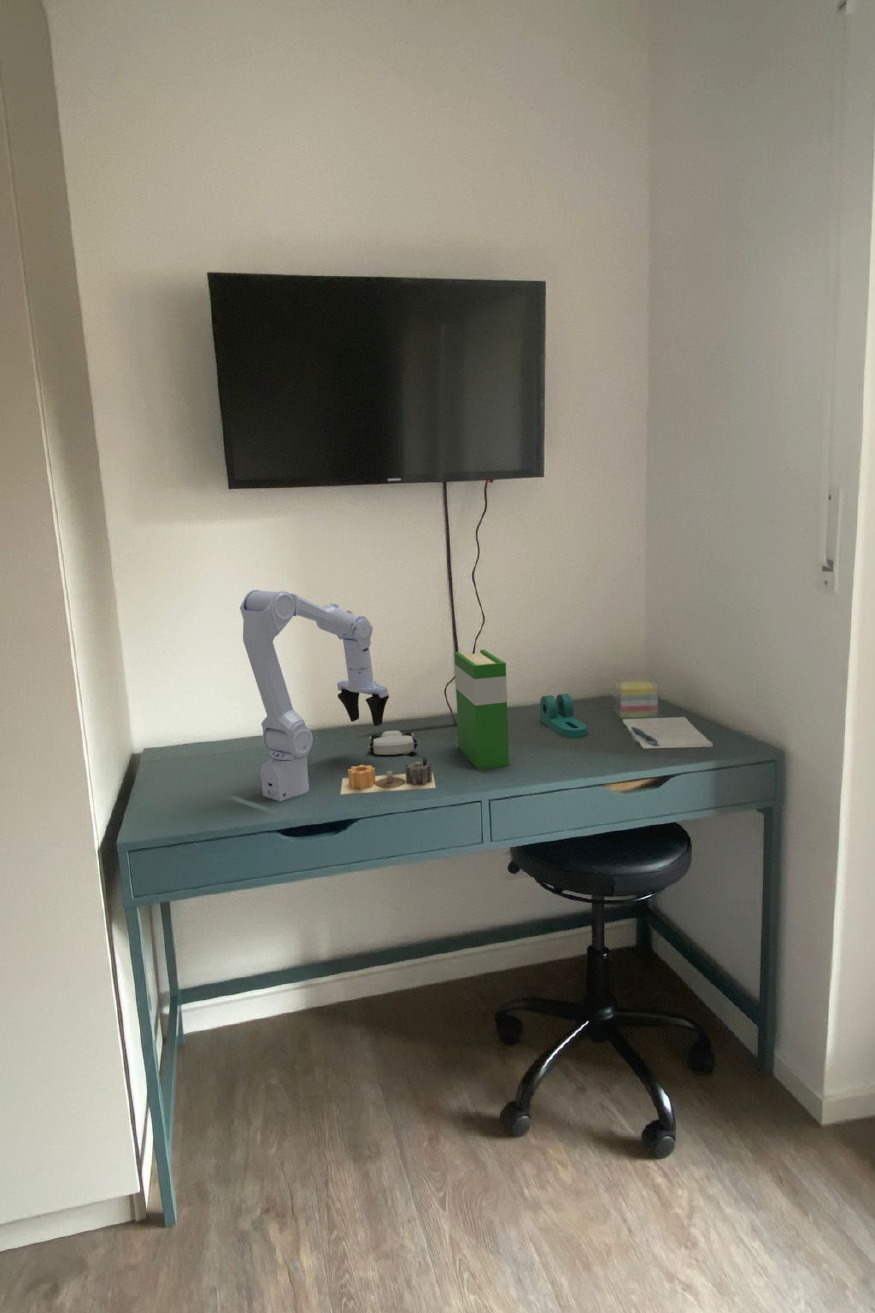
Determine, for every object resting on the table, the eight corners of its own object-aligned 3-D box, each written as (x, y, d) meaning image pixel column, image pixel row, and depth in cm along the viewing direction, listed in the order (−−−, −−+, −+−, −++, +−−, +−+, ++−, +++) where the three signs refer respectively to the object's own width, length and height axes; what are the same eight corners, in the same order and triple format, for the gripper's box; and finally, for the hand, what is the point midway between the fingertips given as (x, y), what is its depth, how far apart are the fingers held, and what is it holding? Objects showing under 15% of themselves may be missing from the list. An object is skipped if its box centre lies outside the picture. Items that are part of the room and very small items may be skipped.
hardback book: (458, 747, 202) (454, 652, 198) (487, 744, 204) (484, 649, 199) (477, 769, 185) (473, 666, 181) (509, 765, 187) (505, 663, 182)
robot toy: (367, 748, 208) (369, 762, 193) (366, 730, 208) (367, 743, 193) (415, 744, 210) (420, 758, 195) (414, 727, 209) (419, 739, 194)
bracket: (540, 722, 222) (539, 693, 220) (563, 719, 223) (563, 691, 222) (566, 740, 204) (565, 709, 203) (591, 737, 206) (591, 706, 204)
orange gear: (362, 791, 172) (360, 775, 171) (343, 785, 176) (342, 770, 175) (381, 783, 176) (380, 767, 176) (362, 778, 180) (361, 763, 179)
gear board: (340, 798, 171) (338, 771, 170) (342, 782, 181) (341, 756, 180) (435, 792, 172) (434, 764, 171) (433, 776, 182) (431, 750, 181)
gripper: (394, 665, 186) (400, 721, 189) (349, 659, 195) (356, 712, 199) (372, 673, 181) (379, 731, 184) (327, 667, 190) (335, 722, 193)
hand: (366, 722), depth 191 cm, fingers open, 7 cm apart
